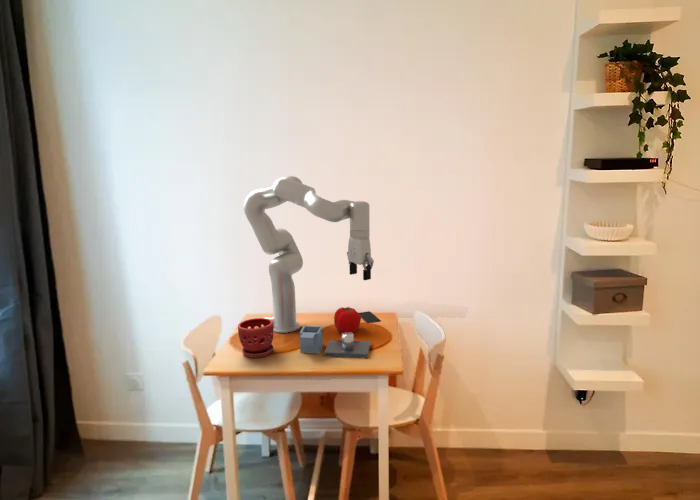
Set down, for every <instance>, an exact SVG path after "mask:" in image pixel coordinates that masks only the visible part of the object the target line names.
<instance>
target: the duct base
mask: <svg viewBox="0 0 700 500" xmlns="http://www.w3.org/2000/svg"><path fill="white" fill-rule="evenodd" d="M354 338H355V337H354V332H352V333H351V332H345V333H341V339H329V341H328V343H327V345H326V348H325V349H324V352H323V353H324V355H323V356H324V357H328V358H329V357H333V358H335V357H336V358H359V359H368V358H369V353H370V350H369V349H370V348H371V346H370V345H371V344H372V343H371V341H368V340H367V341H366V340H355V339H354Z"/></svg>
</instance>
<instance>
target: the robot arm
mask: <svg viewBox="0 0 700 500" xmlns="http://www.w3.org/2000/svg"><path fill="white" fill-rule="evenodd" d="M286 202H289V203H292V204H294V205H296V206H300V207H301V208H303V209H304V208H305V210H307V211H308V212H309V213H310V214H312V215H313V216H315V217H317V218H320V219H322V220H325V221H328V222H330V223H331V222H332V223H339V222H341V221H344V220H348V219H349V238H348V245H347V252H346V255H347V259H348V260H347V261H348V267H349V275H352V276H353V275H356V274H358V265H359V266H360V265H361V266H362V267H363V270H362V280H363V281H368V280H372V269H373V267H374V263H375V261H374V259H373V258H372V253H371V251H372V249H371V240H370V204H369V202H367V201H363V200H362V201H361V200H358V201H354V200H349V199H340V200H337V201H330V200H328V199H325V198H323V197H321V196H319V195H318V194H317V192H316V190H315V188H314V187H312V186H309V185H307V184H305V183H304V184H303V181H302V180H301V179H300V178H298V177H297V176H294V175H293V176H292V175H291V176H289V175H288V176H284V177H283V176H282V177H280V178H277V179H276V180H275V181H274V183H273V185H272V186H270V187H266V188H258V189H255V190H253V191H251V192H249V194H248V195H247V196H246V198H245V200H244V203H243V211H244V215H245V217H246V219H247V221H248V222H249V224H250V226H251V227H252V230H253V232H254V235H255V237H256V239H257V241H258V243H259V245H260V247H261V250H262V251H263V253H265V254H266V255H269V256H270V255H271V256H272V255H275V254H278V256H275V257H274V258H273V259H271V261H270V263H269V265H268V273H269V277H270V283H271V293H272V294H271V295H272V308H273V309H272V311H273V312H272V313H273V316H272V317H265V318H266V319H270V320H272V321H273V327H274V329H273V333H279V334H287V333H288V332H289V333H293V332H296V331H298V330H300V328H301V323H300V322H299V321H297V308H296V307H297V305H296V304H297V303H296V286H295V282H294V280H293V275H294V274H296V273H297V272H299V271H300V270H301V269H302V268H303V265H304V260H303V256H302V254H301V252H300V250H299V247H298V246H297V243H296V242H295V239H294V237H293V235H292V234H291V233H290V232H289V231H288V230H287V229H285V228H276V226H275V225H274V223H273V220H272V219H271V217H270V216H269V215H268V214H267V212H266V210H268V209H273V208H276V207H278V206H280V205H282V204H285V203H286Z"/></svg>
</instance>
